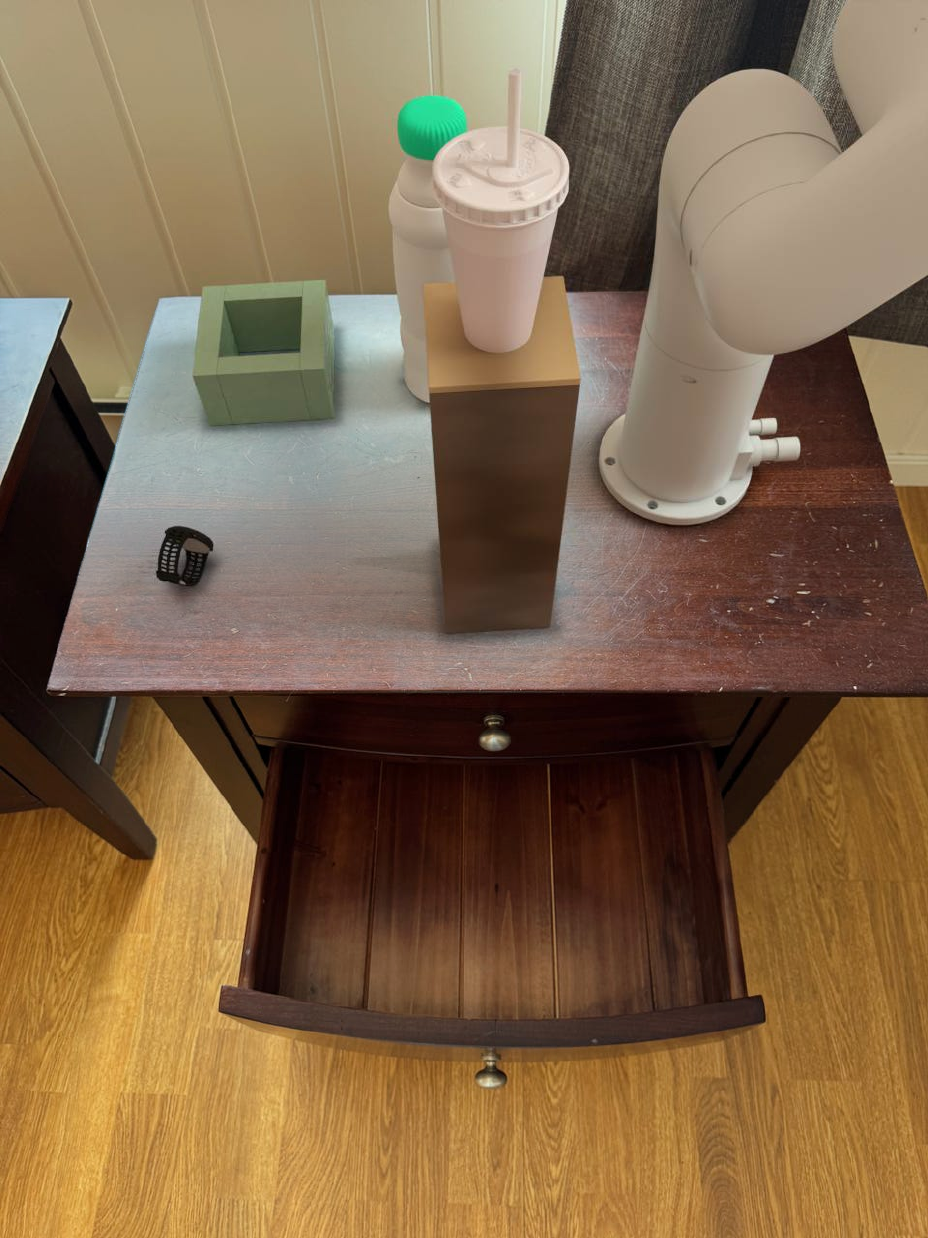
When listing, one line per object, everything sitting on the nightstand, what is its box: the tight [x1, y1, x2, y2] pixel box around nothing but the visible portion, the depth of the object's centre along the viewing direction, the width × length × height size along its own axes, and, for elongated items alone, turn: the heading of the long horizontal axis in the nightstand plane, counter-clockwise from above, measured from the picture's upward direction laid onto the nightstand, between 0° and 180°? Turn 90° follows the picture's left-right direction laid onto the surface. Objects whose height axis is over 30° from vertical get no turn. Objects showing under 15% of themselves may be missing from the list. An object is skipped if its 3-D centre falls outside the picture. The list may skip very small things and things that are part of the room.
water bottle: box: [387, 94, 468, 404], centre depth 75 cm, size 7×7×25 cm
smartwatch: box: [155, 525, 215, 588], centre depth 73 cm, size 4×5×5 cm
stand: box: [192, 279, 335, 427], centre depth 83 cm, size 11×11×6 cm
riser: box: [423, 275, 582, 634], centre depth 63 cm, size 8×8×26 cm
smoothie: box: [431, 67, 570, 353], centre depth 46 cm, size 6×6×14 cm
